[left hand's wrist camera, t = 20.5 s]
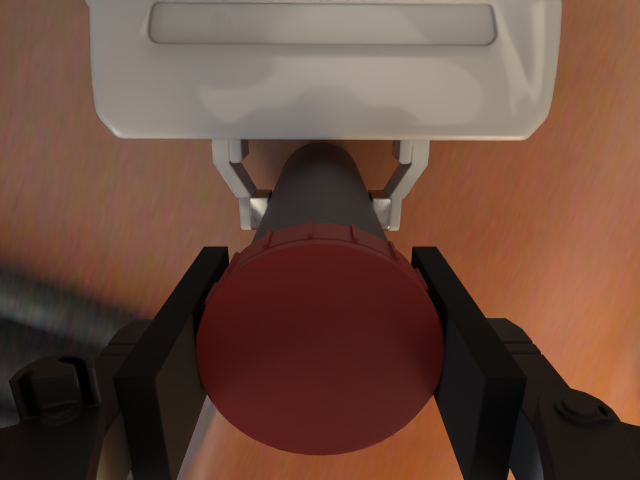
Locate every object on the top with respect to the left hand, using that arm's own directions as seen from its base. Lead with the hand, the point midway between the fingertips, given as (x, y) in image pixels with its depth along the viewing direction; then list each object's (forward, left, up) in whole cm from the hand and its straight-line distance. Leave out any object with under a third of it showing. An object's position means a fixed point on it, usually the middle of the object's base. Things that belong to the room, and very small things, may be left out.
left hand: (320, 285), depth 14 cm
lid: (0, 0, +4) cm, 4 cm away
